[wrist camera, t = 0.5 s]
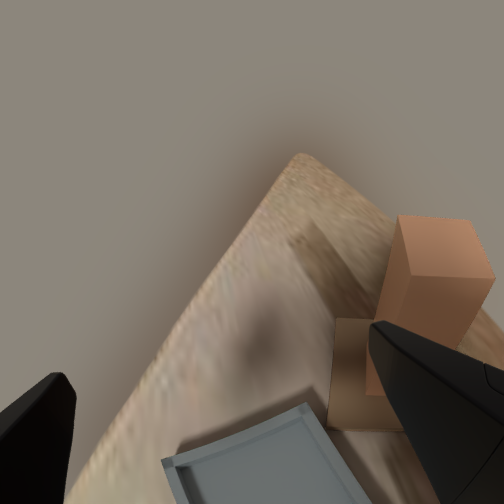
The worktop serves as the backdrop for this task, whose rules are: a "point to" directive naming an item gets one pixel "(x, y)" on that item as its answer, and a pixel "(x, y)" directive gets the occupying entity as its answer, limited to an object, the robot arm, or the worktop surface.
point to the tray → (266, 466)
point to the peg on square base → (355, 384)
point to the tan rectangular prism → (432, 282)
